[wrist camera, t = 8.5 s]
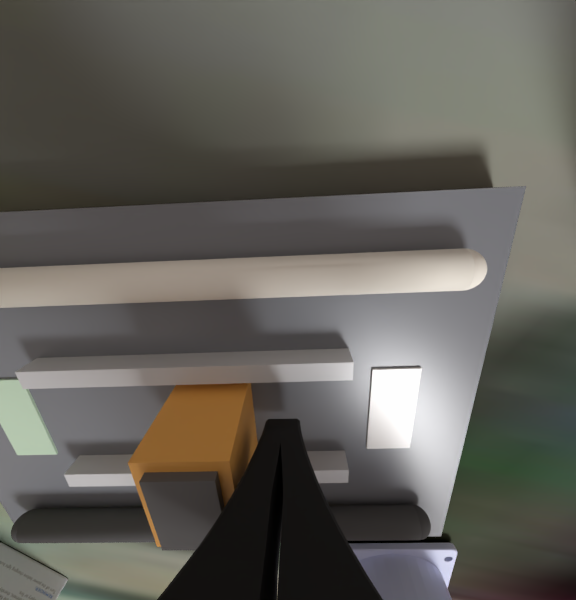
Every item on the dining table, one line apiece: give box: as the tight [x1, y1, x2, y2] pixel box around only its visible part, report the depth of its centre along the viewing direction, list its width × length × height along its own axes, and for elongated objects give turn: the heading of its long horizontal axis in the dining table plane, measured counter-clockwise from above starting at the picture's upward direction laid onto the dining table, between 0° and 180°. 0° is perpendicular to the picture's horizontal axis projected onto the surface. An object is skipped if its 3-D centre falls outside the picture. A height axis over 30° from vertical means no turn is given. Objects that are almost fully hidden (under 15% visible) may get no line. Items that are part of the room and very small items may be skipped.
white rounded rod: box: [0, 248, 487, 308], centre depth 9 cm, size 1×21×1 cm, turn 92°
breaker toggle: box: [128, 383, 258, 550], centre depth 10 cm, size 4×3×4 cm
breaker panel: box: [0, 186, 526, 536], centre depth 13 cm, size 18×24×2 cm
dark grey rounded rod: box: [11, 504, 431, 543], centre depth 14 cm, size 1×21×1 cm, turn 93°
